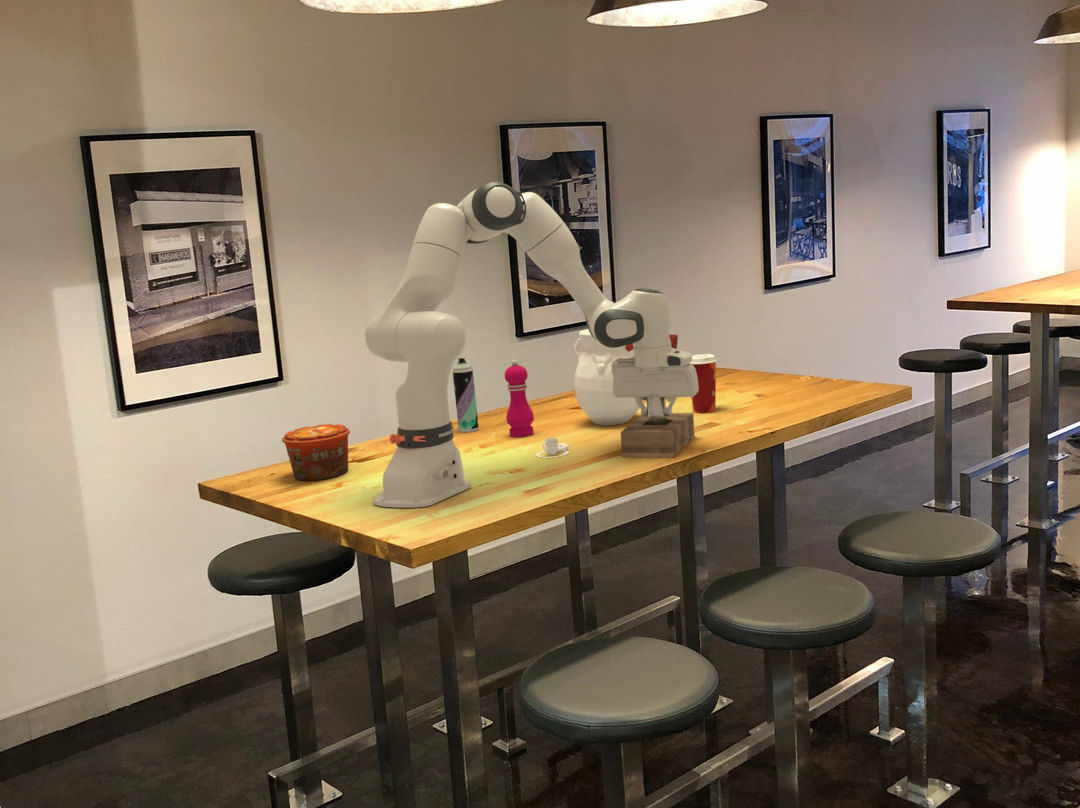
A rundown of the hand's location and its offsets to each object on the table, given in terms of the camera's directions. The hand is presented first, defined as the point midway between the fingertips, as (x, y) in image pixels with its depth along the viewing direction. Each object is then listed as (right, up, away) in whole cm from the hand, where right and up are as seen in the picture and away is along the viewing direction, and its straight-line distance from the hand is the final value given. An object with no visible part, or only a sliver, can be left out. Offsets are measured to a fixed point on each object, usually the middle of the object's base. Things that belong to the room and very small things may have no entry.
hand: (656, 415), depth 249 cm
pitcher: (-8, -2, +34) cm, 35 cm away
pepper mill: (-32, -6, +28) cm, 43 cm away
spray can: (-47, -5, +40) cm, 62 cm away
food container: (-80, -14, +5) cm, 82 cm away
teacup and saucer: (-22, -10, +4) cm, 24 cm away
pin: (0, -5, +1) cm, 5 cm away
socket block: (+1, -8, +1) cm, 8 cm away
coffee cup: (+17, +1, +37) cm, 41 cm away
